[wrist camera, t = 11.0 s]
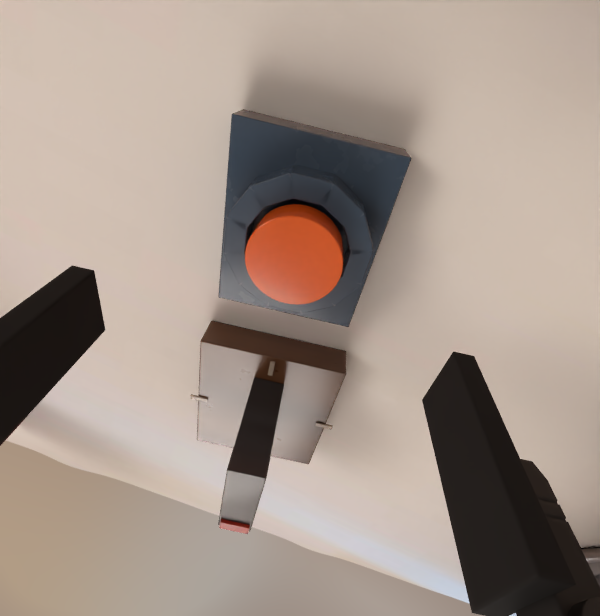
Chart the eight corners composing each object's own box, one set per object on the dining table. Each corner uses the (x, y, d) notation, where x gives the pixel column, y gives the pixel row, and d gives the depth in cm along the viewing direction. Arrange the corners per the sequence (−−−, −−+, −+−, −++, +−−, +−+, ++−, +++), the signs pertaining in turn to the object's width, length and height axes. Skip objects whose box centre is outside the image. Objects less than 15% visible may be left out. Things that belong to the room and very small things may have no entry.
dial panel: (316, 442, 35) (314, 467, 33) (199, 417, 34) (189, 440, 32) (353, 352, 27) (354, 377, 25) (203, 318, 27) (191, 340, 25)
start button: (330, 296, 20) (329, 314, 19) (247, 277, 20) (239, 293, 18) (355, 216, 17) (355, 229, 16) (258, 193, 17) (250, 204, 16)
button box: (348, 308, 25) (348, 345, 22) (227, 280, 25) (209, 313, 21) (405, 149, 18) (418, 166, 15) (242, 109, 18) (220, 118, 15)
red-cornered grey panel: (254, 377, 26) (225, 473, 20) (284, 384, 26) (265, 482, 20) (242, 435, 31) (216, 528, 25) (268, 441, 31) (249, 535, 25)
